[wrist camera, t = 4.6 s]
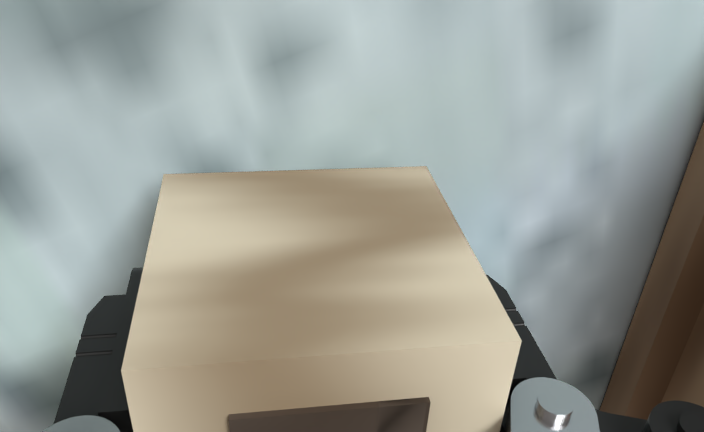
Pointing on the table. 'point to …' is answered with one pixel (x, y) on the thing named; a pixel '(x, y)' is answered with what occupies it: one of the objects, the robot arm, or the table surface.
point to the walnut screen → (668, 313)
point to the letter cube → (314, 309)
